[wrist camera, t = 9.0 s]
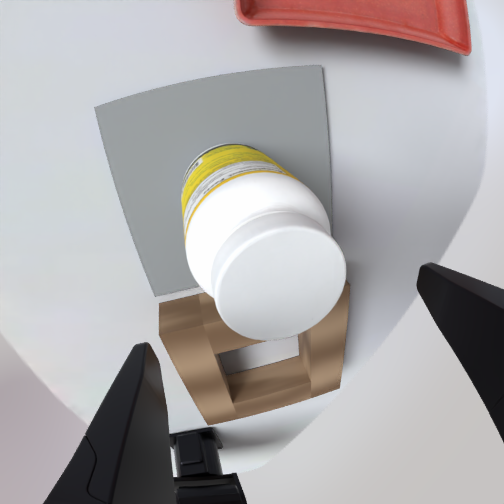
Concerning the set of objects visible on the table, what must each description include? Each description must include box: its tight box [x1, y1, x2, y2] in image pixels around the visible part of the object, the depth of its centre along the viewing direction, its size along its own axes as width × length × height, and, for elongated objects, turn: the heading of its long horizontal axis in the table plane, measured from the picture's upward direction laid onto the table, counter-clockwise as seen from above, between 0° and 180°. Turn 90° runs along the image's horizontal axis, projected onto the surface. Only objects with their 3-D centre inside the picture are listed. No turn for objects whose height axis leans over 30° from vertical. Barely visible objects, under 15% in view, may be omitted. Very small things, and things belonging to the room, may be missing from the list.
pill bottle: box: [181, 143, 346, 341], centre depth 15 cm, size 6×6×11 cm
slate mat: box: [94, 65, 332, 297], centre depth 20 cm, size 14×14×1 cm
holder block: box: [159, 280, 350, 425], centre depth 26 cm, size 14×14×4 cm
